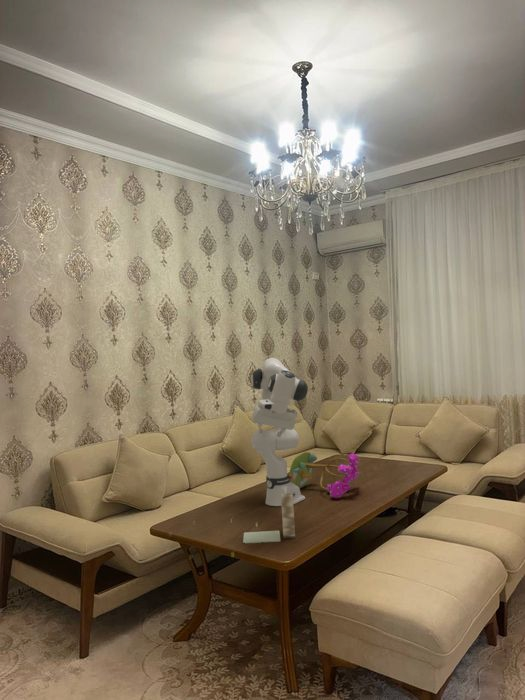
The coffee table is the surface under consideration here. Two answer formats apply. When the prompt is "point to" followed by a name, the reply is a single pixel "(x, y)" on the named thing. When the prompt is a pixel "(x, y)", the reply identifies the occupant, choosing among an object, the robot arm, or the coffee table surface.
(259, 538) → the sage mat
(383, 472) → the coffee table surface
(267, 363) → the robot arm
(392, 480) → the coffee table surface
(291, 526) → the maple block
